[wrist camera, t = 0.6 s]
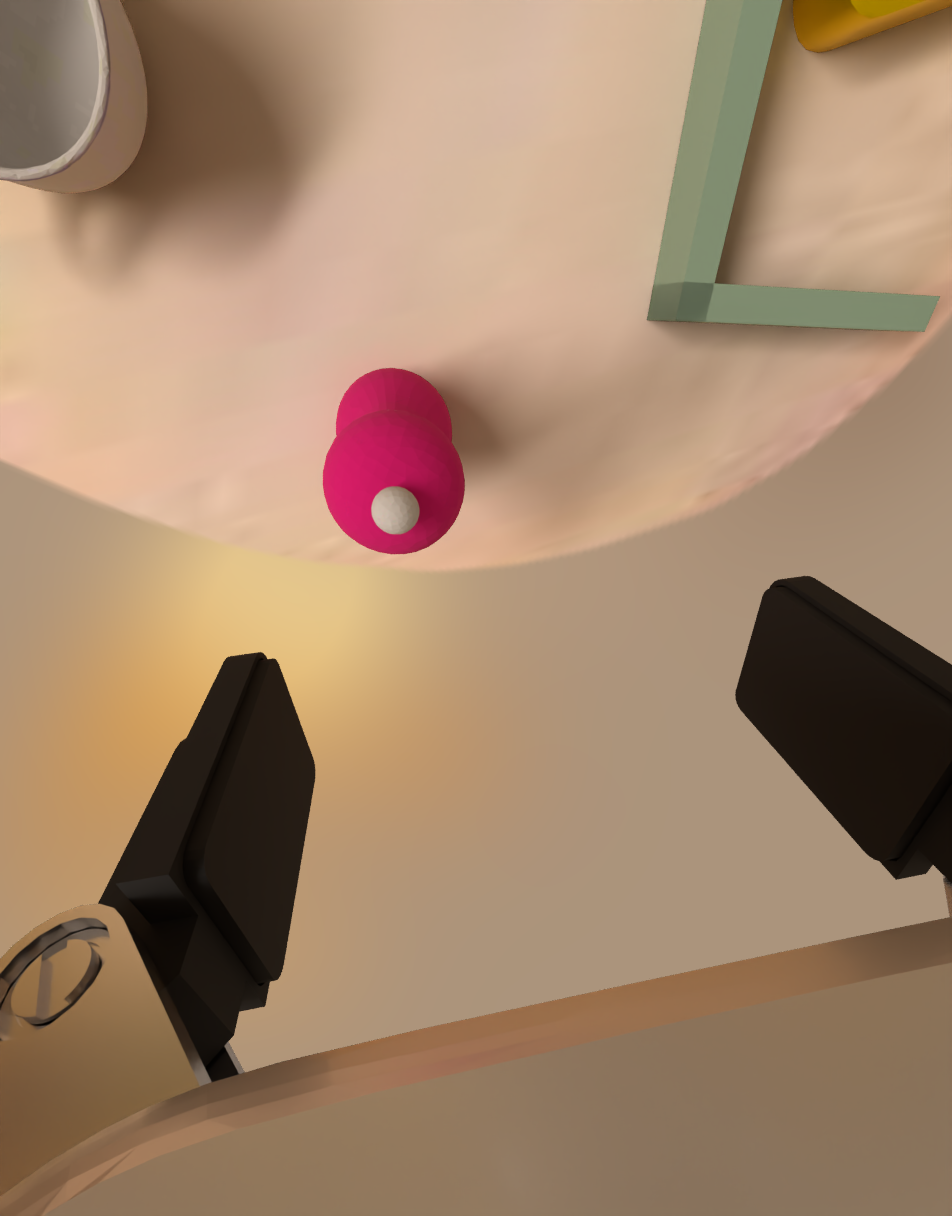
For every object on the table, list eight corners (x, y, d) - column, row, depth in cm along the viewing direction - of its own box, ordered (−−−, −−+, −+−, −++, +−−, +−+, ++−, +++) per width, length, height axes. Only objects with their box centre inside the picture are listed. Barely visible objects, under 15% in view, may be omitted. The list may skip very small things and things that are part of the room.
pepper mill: (464, 400, 34) (532, 481, 17) (415, 488, 37) (433, 631, 20) (370, 339, 32) (343, 364, 15) (325, 438, 34) (258, 556, 17)
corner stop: (720, -76, 25) (773, -140, 21) (1015, -26, 27) (1104, -75, 24) (646, 320, 33) (675, 320, 30) (874, 330, 36) (924, 331, 33)
